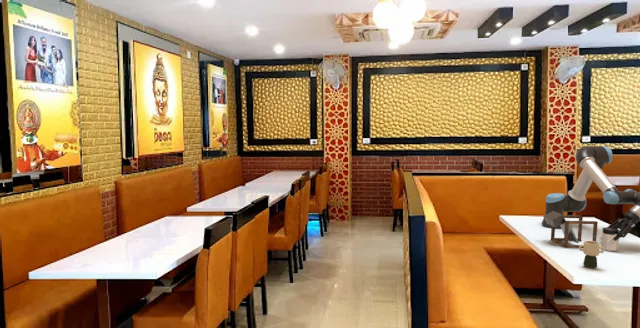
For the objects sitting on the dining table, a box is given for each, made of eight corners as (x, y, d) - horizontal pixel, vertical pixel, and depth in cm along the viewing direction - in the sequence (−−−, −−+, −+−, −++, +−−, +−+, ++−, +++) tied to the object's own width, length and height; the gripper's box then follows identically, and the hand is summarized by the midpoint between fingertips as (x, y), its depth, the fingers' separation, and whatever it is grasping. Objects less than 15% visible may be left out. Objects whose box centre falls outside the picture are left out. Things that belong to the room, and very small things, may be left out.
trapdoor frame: (550, 240, 294) (552, 215, 292) (579, 240, 293) (581, 215, 292) (564, 247, 276) (566, 221, 274) (595, 248, 275) (597, 221, 274)
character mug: (601, 266, 240) (602, 241, 239) (603, 270, 234) (605, 245, 233) (577, 263, 245) (578, 239, 243) (578, 267, 238) (580, 242, 237)
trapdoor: (542, 215, 291) (554, 209, 290) (555, 242, 292) (567, 236, 291) (552, 220, 277) (565, 214, 276) (566, 248, 278) (578, 242, 277)
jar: (602, 250, 271) (604, 229, 270) (598, 246, 279) (600, 226, 278) (620, 251, 268) (621, 231, 267) (616, 248, 276) (617, 228, 275)
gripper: (651, 223, 261) (619, 251, 263) (628, 215, 281) (598, 241, 283) (642, 213, 260) (610, 241, 262) (619, 206, 281) (590, 232, 283)
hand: (604, 241), depth 273 cm, fingers closed on jar, 8 cm apart
